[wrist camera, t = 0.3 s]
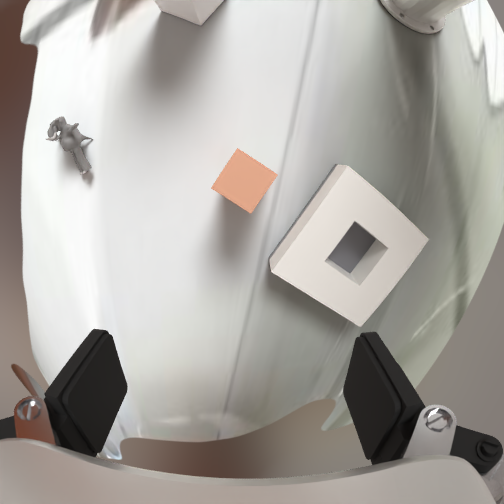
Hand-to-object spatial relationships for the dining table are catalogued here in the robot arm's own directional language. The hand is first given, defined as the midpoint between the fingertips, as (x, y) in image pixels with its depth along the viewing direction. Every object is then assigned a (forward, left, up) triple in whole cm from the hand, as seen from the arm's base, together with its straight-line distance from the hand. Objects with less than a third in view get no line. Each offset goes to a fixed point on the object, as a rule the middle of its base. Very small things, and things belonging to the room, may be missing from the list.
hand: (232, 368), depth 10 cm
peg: (-5, -3, -28) cm, 28 cm away
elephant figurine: (+3, -25, -28) cm, 38 cm away
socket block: (-5, +13, -28) cm, 31 cm away
